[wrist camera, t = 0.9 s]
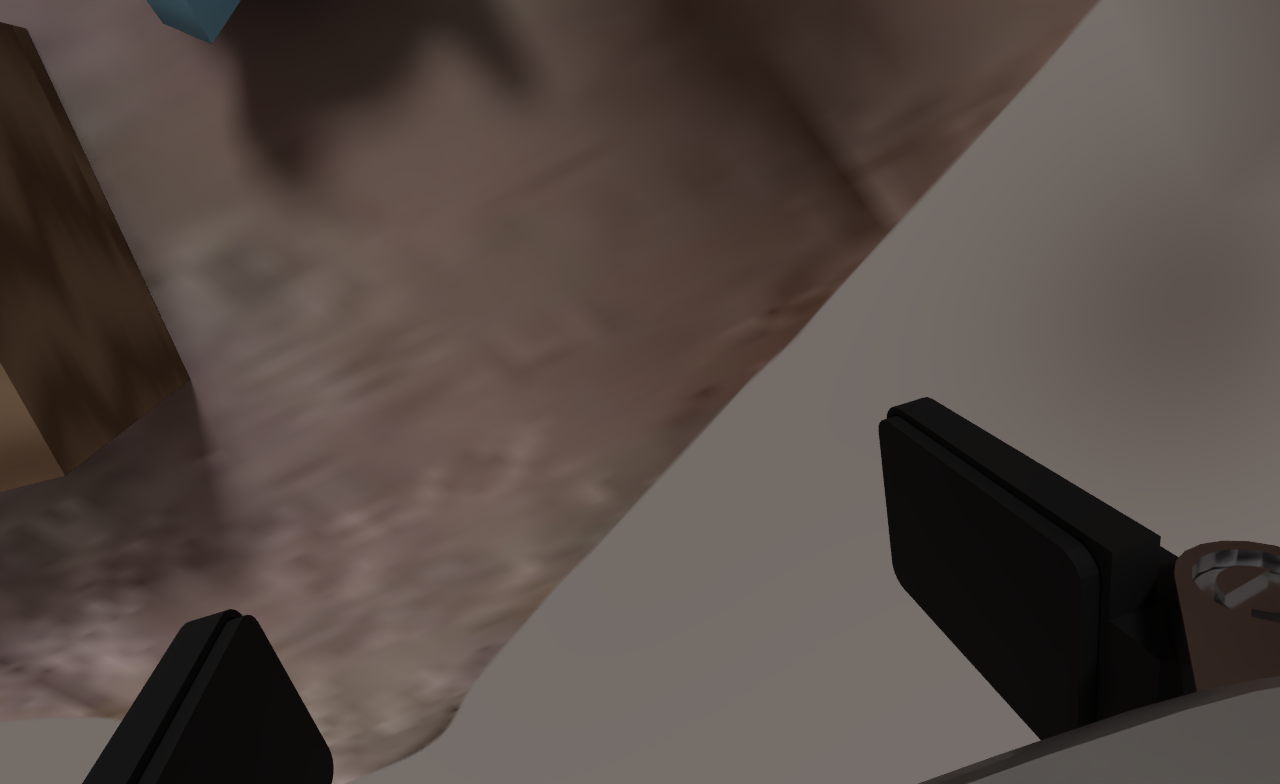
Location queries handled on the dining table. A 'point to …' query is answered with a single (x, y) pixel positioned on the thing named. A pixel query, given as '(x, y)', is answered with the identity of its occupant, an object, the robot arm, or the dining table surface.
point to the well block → (64, 291)
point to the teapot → (195, 15)
